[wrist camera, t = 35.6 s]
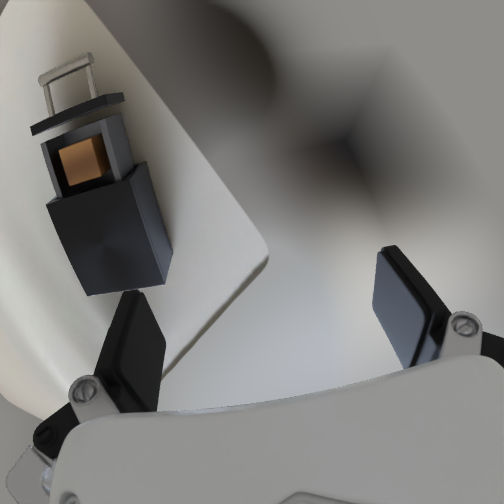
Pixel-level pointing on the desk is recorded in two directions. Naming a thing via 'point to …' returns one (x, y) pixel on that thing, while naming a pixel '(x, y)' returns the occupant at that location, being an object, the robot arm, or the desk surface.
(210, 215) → the desk surface
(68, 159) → the tan wooden cube
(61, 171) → the drawer with bar handle
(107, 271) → the black drawer unit
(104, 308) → the desk surface
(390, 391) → the robot arm
